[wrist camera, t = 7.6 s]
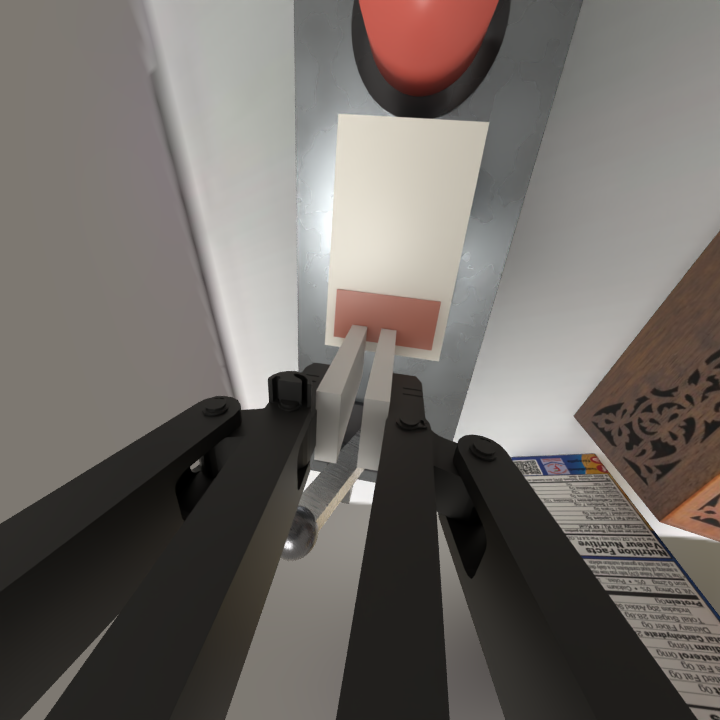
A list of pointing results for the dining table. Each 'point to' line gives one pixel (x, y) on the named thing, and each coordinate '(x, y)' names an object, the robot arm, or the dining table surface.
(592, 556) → the beverage box
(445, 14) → the button
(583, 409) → the tissue box cover
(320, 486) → the toggle
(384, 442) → the robot arm
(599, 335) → the dining table surface
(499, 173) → the console
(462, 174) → the plate
